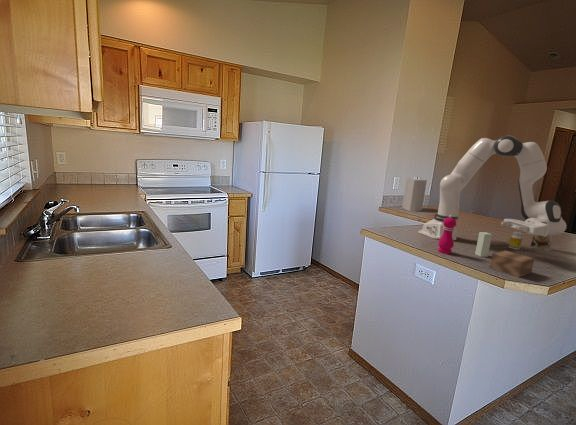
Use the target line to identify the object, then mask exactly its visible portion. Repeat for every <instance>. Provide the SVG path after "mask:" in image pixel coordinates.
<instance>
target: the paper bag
mask: <svg viewBox="0 0 576 425" xmlns="http://www.w3.org/2000/svg"><path fill="white" fill-rule="evenodd" d="M427 181H428V180H427V179H420V178H412V177H411V178H410V177H406V181H405V187H404V188H405V189H404V193H403V194H404V195H403V201H402V208H403V209H405V211H409V212H420V211H421V212H422V211H423V207H424V200H425V196H426V189H427V187H426V186H427Z"/></svg>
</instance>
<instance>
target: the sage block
mask: <svg viewBox="0 0 576 425" xmlns="http://www.w3.org/2000/svg"><path fill="white" fill-rule="evenodd" d="M492 238H493V234H492V233H490V232H486V231H482V232H481V231H479V233H478V237H477V243H476V247H475V252H474V254H475V255H476V256H478V257H482V258H488V257H489V252H490V247H491V242H492V241H491V240H492Z"/></svg>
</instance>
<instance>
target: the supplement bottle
mask: <svg viewBox="0 0 576 425" xmlns="http://www.w3.org/2000/svg"><path fill="white" fill-rule="evenodd" d="M522 240H523V236H522V232H520V231H515V230H513V232H512V234H511V235H510V238H509V243H508V248H509V249H512V250H520V249H521V244H522Z"/></svg>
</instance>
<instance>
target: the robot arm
mask: <svg viewBox="0 0 576 425" xmlns="http://www.w3.org/2000/svg"><path fill="white" fill-rule="evenodd" d="M495 154H496V155H498V156H501V157H515V158H516V160H517V163H518V167H519V171H520V172H519V174H520V175H519V177H518V180H517V182H518V183H517V184H518V185H517V186H518V191H519V198H520V204H521V207H520V214H521V216H522V217H523V218H524V219H525V220H524V221H523V220H520V219H514V218H504V219H503V221H501V223H500V224H501V225H502V226H505V227H509V228H512V229H515V230H517V231H523V232H525V234H527V235H528V236H529V235H530V236H533V235H540V236H545V237H546V236H547V235H554V236H558V235H561V234H563V233H564V232H565V231H566V230H567V223H566V221H565V220H564V219H563V217H562V214H563V213H562V212H563V211H562V206H561V205H560V204H559V203H558V202H556V201H555V200H545V201H544V200H543V201H535V199H534V192H533V185H534V184H535V182H536V181H538V180H540V179H541V178H543V176H545V174H546V173H547V170H548V166H547V162H546V158H545V156H544V153H543V150H541V148H540V146H539V144H538V143H537V142H534V141H528V142H527V141H526V142H521V141H520V140H518V138H516V137H515V136H513V135H509V134H508V135H507V134H506V135H503V136H500V137H499V138H498V139H495V140H494V139H490V138H488V137H482V138H479V140H477V141H476V142H475V143H474V144H473V145H472V146H471V147H470V148H469V149H468V150H467V151H466V153H465V154H464V155H463V156H462V158H461V159H459V161H458V162H457V164H456V165H455V167H454V168H453V170H452V171H451V173H450V174H447V175H445V176H444V177H443V178H441V180H440V183H439V203H438V204H439V205H438V208H437V209H438V210H437V213H435V214H433V217H434V218H433V219H431V220H428V221H427V222H425V223H424V224H423V226H422V228H421V229H419V230H418V231H417V233H419V234H421V235H424V236H426V237H429V238H431V239H436V240H440V238H441V237H442V235H443V232H444V229H443V228H444V224H443V221H444V219H445V218H449V215H452V216H453V217H452V218H453V219H455V220H456V226H454V231H453V232H452V238H453V241H456V240H457V225H458V220H459V210H460V201H461V200H460V199H461V191H462V190H463V189H464V188H465V187H466V186H467V184H468V183H469V182H470V181H471V179H473V177H474V176H475V174H476V173H477V172H478V171H479V170H480V168H481V167H482V166H484V164H485V163H486V162H487V160H488V159H489V158H490V157H491V156H493V155H495ZM501 225H500V226H501Z"/></svg>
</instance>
